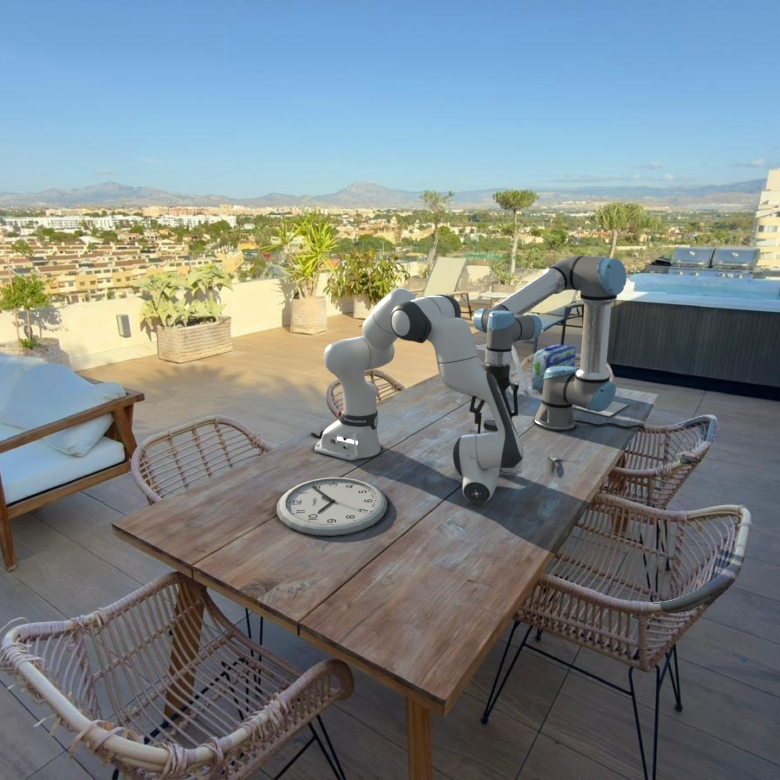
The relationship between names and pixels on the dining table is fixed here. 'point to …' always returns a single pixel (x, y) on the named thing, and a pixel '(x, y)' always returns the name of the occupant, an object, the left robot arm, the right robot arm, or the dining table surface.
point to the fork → (554, 460)
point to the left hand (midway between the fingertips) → (490, 450)
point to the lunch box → (550, 362)
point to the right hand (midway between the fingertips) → (491, 434)
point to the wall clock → (331, 506)
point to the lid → (490, 425)
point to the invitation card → (607, 409)
